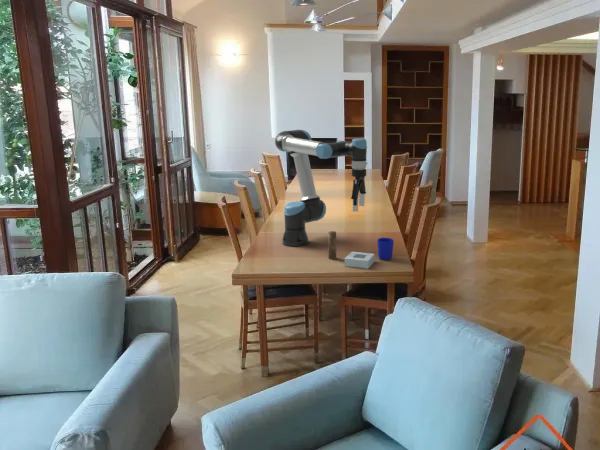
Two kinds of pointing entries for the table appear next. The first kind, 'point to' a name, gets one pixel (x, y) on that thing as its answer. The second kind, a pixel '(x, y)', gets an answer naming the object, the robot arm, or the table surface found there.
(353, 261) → the socket
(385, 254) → the mug
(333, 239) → the peg
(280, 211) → the table surface
